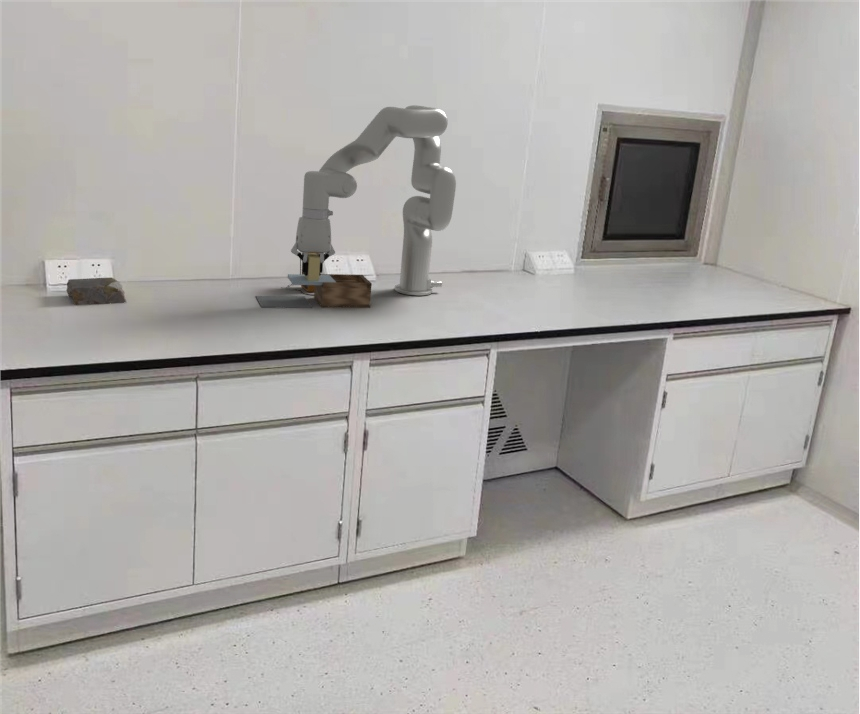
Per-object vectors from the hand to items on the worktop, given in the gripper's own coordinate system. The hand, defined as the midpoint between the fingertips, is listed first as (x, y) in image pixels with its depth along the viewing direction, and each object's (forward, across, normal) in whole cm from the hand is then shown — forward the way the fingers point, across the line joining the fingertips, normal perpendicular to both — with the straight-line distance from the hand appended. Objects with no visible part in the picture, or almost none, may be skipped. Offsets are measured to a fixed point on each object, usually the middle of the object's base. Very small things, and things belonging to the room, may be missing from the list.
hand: (311, 274), depth 260 cm
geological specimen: (+9, +61, -2) cm, 62 cm away
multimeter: (+9, +1, -15) cm, 18 cm away
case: (+9, -10, 0) cm, 13 cm away
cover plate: (+2, 0, 0) cm, 2 cm away
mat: (+9, +8, 0) cm, 12 cm away
